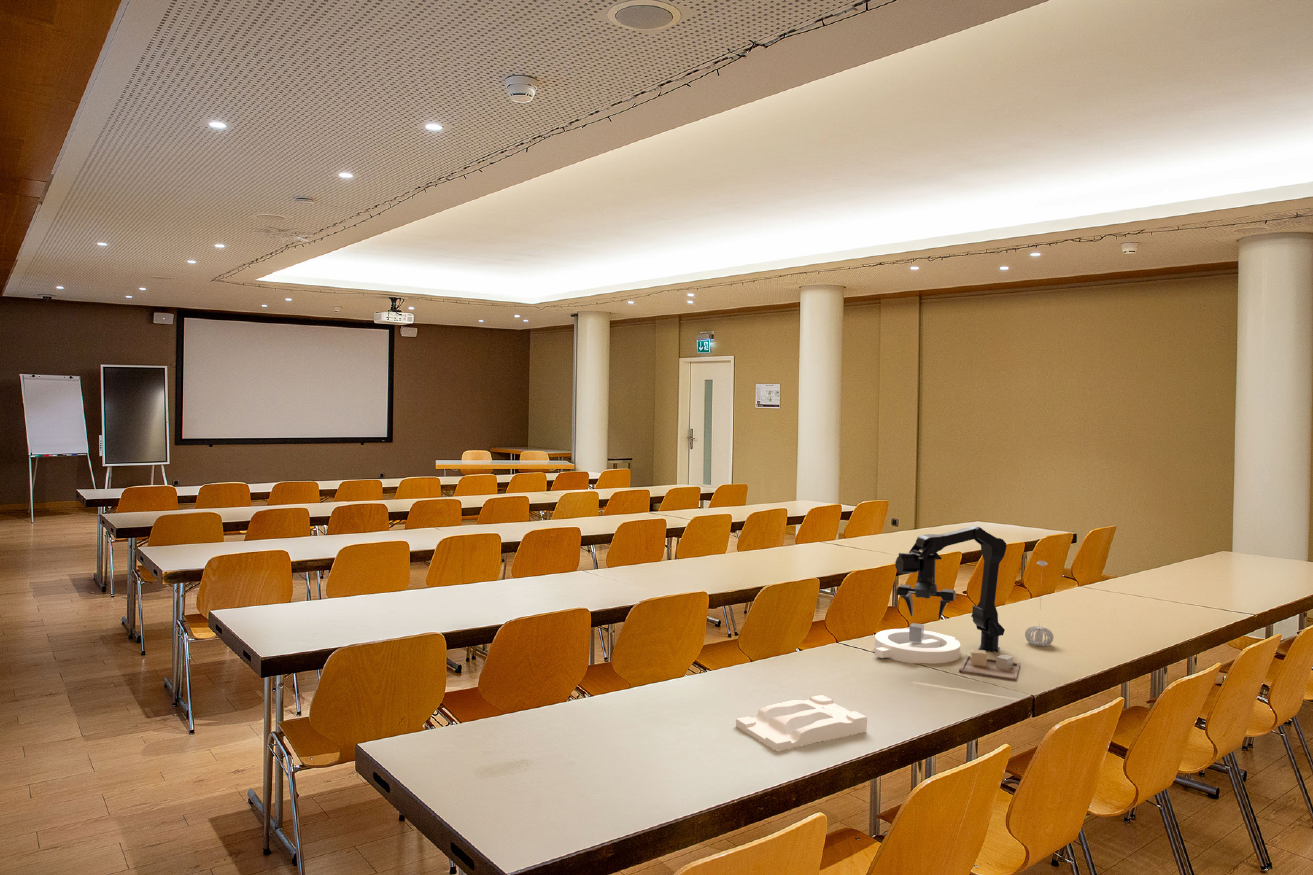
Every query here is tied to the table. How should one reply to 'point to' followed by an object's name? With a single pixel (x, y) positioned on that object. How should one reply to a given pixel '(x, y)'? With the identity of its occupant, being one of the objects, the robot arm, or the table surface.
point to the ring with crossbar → (916, 647)
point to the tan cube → (978, 657)
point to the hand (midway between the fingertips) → (925, 617)
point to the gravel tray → (989, 670)
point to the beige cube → (1004, 662)
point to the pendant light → (1039, 628)
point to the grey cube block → (916, 632)
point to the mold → (802, 723)
